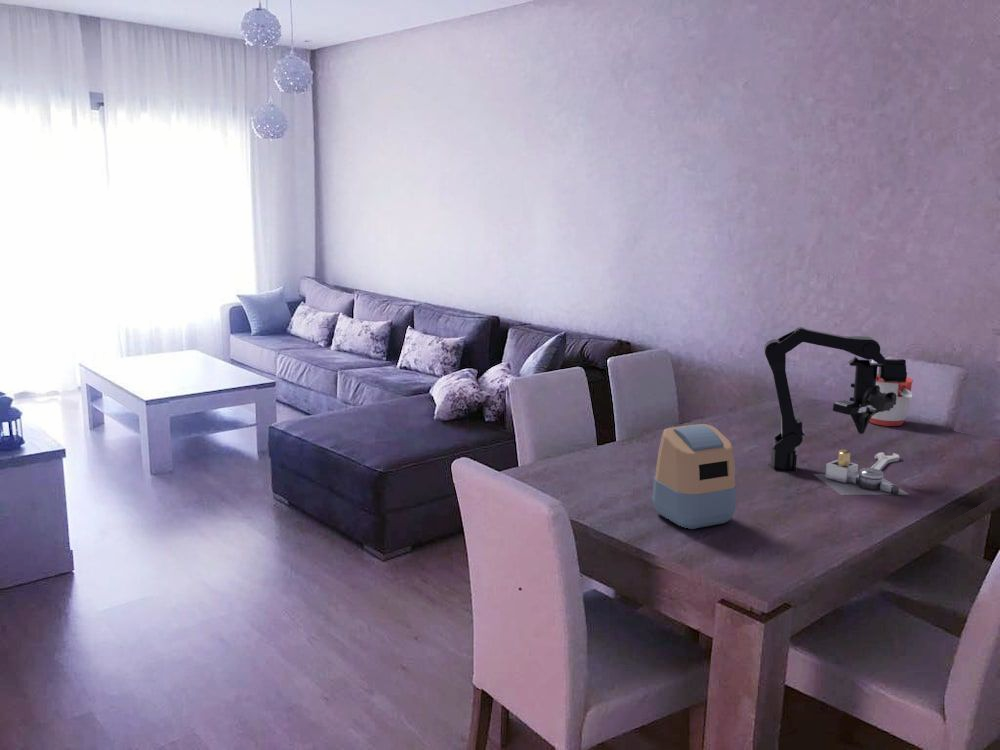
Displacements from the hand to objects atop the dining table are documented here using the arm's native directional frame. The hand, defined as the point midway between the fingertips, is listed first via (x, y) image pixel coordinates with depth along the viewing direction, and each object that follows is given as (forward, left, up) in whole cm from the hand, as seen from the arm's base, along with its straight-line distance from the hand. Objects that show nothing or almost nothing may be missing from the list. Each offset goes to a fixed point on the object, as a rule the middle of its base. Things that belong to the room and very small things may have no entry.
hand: (861, 433), depth 235 cm
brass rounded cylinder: (-6, -4, -11) cm, 13 cm away
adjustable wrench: (+11, +9, -13) cm, 20 cm away
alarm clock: (-58, -32, -13) cm, 68 cm away
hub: (-2, -11, -13) cm, 17 cm away
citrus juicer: (+39, +59, -13) cm, 72 cm away
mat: (-3, -8, -13) cm, 16 cm away
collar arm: (-3, -10, -12) cm, 16 cm away
